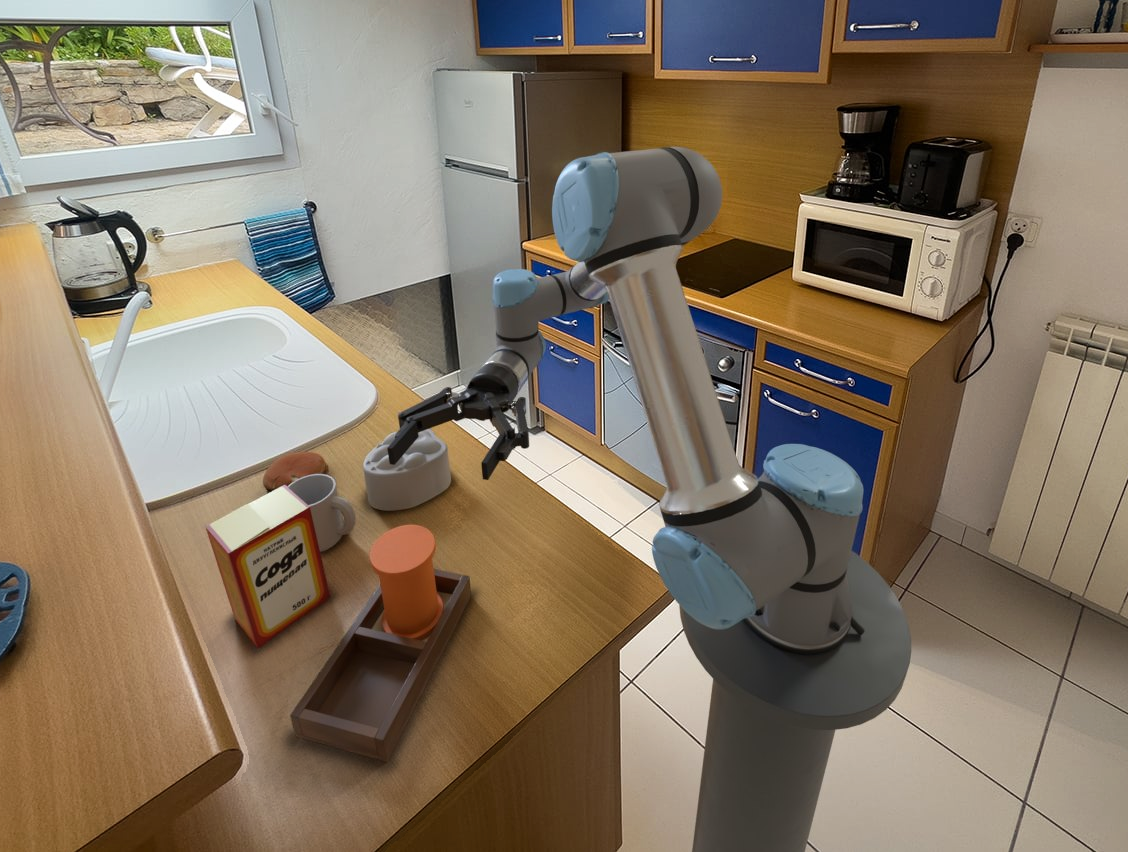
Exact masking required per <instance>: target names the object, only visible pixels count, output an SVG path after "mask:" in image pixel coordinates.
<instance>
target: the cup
mask: <svg viewBox="0 0 1128 852" xmlns="http://www.w3.org/2000/svg"><path fill="white" fill-rule="evenodd" d="M287 487H288V488H289V489H290V490H291V491H293V492H294V493H295V494H296V495H297V496H298V497H299V498H300V499H302V500H303V501H304V502H305V503H306V504H307V505H308V506H309V507H310V510H311V514H312V519H313V523H314V527H315V532H316V536H317V540H318V545H319V549H320V553H322V552H325V551H327V550H329V549H331V548H333V546H335V545H336V544H337V543H338V542H339V541H340V540H341V538H342V536H345V535H348V534H350V532H352V531H353V530H354V528H355V526H356V521H357V520H356V519H357V516H356V512H355V511H356V510H354V507H353V505H352V504H351V502H349V501H348V500H347V499H346V498H344V497H342V496H339V494H338V489H337V484H336V479H334V477H332V476H330V475H329V474H328V475H325V474H313V475H308V476H305V477H302V478H300V479H298V480H296V481H294V482H292V483H291V484H290V485H289V486H287Z"/></svg>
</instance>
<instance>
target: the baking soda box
mask: <svg viewBox="0 0 1128 852" xmlns="http://www.w3.org/2000/svg"><path fill="white" fill-rule="evenodd" d="M205 530H206V534H207V537H208V540H209V542H210V546H211V549H212V552H213V555H214V559H215V561H216V565H217V567H218V568H217V569H218V571H219V573H220V577H221V580H222V585H223V587H224V590H225V594H226V596H227V599H228V602H229V606H230V608H231V611H232V615H233V617H234V620H235V622H237V624H238V625H239V626H240V628H241V629H242V630H243V631H244V633H245V635H247V637H248V638H249V639H250V640H251V642H252V643H253V644H254V646H255V647H256V648H257V649H259V648H260V647H262V646H263V645H265V644H266V643H268V642H269V641H270V640H272V639H273V638H274V637H276V636H278V635H279V634H280V633H281V632H284V631H285V630H286V629H288V628H289V627H290V626H291V625H293V624H294V623H296V622H297V621H299V620H300V619H302V618H303V617H305V615H308V614H309V613H310V612H311V611H313V610H314V609H316V608H317V607H319V606H320V605H321V604H323V603H325V602H326V601H327V600H328V599H330V598H331V593H330V589H329V585H328V584H329V583H328V580H327V575H326V572H325V566H324V562H323V559H322V553H321V552H320V549H319V545H318V540H317V536H316V532H315V527H314V523H313V519H312V514H311V510H310V507H309V506H308V505H307V504H306V503H305V502H304V501H303V500H302V499H300V498H299V497H298V496H297V495H296V494H295V493H294V492H293V491H291V490H290V489H289V488H288V487H287V486H286V485H283V486H281V487H279V488H277V489H276V490H274V491H272V492H270V493H268V494H267V493H266V494H264V495H263V496H260V497H258V498H257V499H254V500H253V501H251V502H249V503H246V504H244V505H242V506H239V508H237V509H235V510H232V511H230V512H229V513H228V514H226V515H224V516H222V517H220V518H219V519H216V520H214V521H213V522H211V523H209V524H207V525H206V526H205Z"/></svg>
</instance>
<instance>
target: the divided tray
mask: <svg viewBox="0 0 1128 852" xmlns="http://www.w3.org/2000/svg"><path fill="white" fill-rule="evenodd" d="M434 576H435V583H436V591H437V593H438V594H439V595H440V597H441V599H442V601H443V607H444V611H443V613H442V615H441V617H440V618H439V620H438V622H437V624H436V626H435V628H434V629H433V631H432V633H431V635H430V636H429V637H427V638H426V639H424V640H422V641H420V640H416V639H411V638H407V637H403V636H398V635H394V634H390V633H385V632H384V631H383V626H382V616H383V612H384V610H385V608H384V603H383V597H382V592H381V586H380V584H379V585H378V586H377V588H376V589H375V590H374V592H373V593H372V594H371V596H370V598H369V600H368V601H367V602H366V603H365V605H364V607H363V608H362V610H361V611H360V613H359V614H358V616H357V617H356V618H355V620H354V621H353V623H352V624H351V626H350V627H349V628H348V629H347V631H346V633H345V634H344V636H343V637H342V639H341V640H340V642H339V643H338V645H337V646H336V647H335V649H334V651H332V653H331V655H330V656H329V658H328V659H327V661H326V662H325V663H324V665H323V667H322V668H321V669H320V671H319V672H318V674H317V675H316V676H315V678H314V680H313V681H312V683H311V684H310V685H309V687H308V688H307V689H306V691H305V693H304V694H303V696H302V697H301V698H300V700H299V702H298V703H297V705H296V706H295V707H294V709H293V710H292V712H291V713H290V715H289V717H290V721H291V724H292V727H293V730H294V735H295V737H296V738H299V739H303V740H306V741H310V742H313V743H318V744H321V745H325V746H328V747H331V748H335V749H339V750H342V751H346V752H350V753H353V754H357V755H360V756H365V757H367V758H370V759H371V758H372V759H375V760H378V761H383V762H385V763H388V761H389V760H390V758H391V756H392V754H393V752H394V750H395V748H396V746H397V744H398V742H399V740H400V738H401V737H402V734H403V732H404V730H405V728H406V726H407V724H408V722H409V720H410V718H411V716H412V714H413V712H414V711H415V708H416V706H417V704H418V702H419V700H420V699H421V696H422V695H423V692H424V691H425V688H426V686H427V684H428V682H429V681H430V678H432V677H431V676H432V675H433V673H434V671H435V669H436V667H437V665H438V663H439V660H441V657H442V655H443V653H444V650H445V649H446V647H447V645H448V643H449V641H450V639H451V637H452V635H453V633H454V631H455V628H456V627H457V625H458V623H459V621H460V620H461V617H462V615H463V614H464V612H465V609H466V607H467V605H468V603H469V601H470V599H471V598H472V587H471V577H470V576H469V575H465V574H461V573H457V572H456V573H455V572H451V571H446V570H442V569H441V570H440V569H436V568H434Z"/></svg>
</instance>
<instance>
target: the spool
mask: <svg viewBox="0 0 1128 852" xmlns="http://www.w3.org/2000/svg"><path fill="white" fill-rule="evenodd" d="M436 549H437V544H436V538H435V536H434V533H432V531H431V530H430V529H429V528H427V527H425V526H423V525H420V524H404V525H400V526H397V527H394V528H391V529H389V530H387V531H386V532H385V533H383V534H382V535H380V536H379V537H378V538H377V539H376V540H375V541H374V543H373V544H372V546H371V548H370V550H369V551H370V552H369V562H370V566H371V569H372V571H373V572H374V573H375V574H376V575H377V576H378V580H379V585H380V586H381V592H382V597H383V603H384V608H385V610H384V612H383V616H382V626H383V631H384V632H385V633H390V634H394V635H398V636H403V637H407V638H411V639H416V640H420V641H422V640H424V639H426V638H427V637H429V636H430V635H431V633H432V631H433V629H434V628H435V626H436V624H437V622H438V620H439V618H440V617H441V615H442V613H443V611H444V607H443V601H442V599H441V597H440V595H439V594H438V593H437V591H436V583H435V576H434V569H435V568H434V562H433V558H434V556H435V554H436Z"/></svg>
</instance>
